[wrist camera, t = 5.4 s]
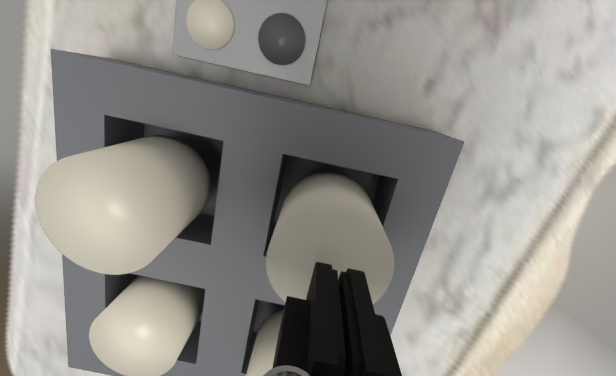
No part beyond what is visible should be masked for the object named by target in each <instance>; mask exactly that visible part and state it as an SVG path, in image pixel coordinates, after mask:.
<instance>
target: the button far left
mask: <svg viewBox="0 0 616 376" xmlns="http://www.w3.org/2000/svg"><path fill="white" fill-rule="evenodd" d="M204 296H205V289H203V288H198V287H194V286H189V285H184V284H179V283H174V282H169V281H164V280H160V279H155V278H150V277H145V276H140V275H138V276H137V277H136V278H135V280H134V281H133V282H132V283H131V284H130V285H129V286H128V287H127V288H126V289H125V290H124V291H123V292H122V293H121V294H120V295H119V296H118V297H117V298H116V299H115V300H114V301H113V302H112V303H111V304H110V305H109V306H108V307H107V308H106V309H105V310H104V311H103V312H102V313H101V314H100V315H99V316H98V317H97V318H96V319H95V320H94V321H93V323H92V325H91V327H90V331H89V341H90V344H91V347H92V349H93V351H94V353H95V354H96V356H97V357H98V358H99V359H100V360H101V361H102V362H103V363H104V364H105V365H106V366H107V367H109V368H110V369H112V370H114V371H115V372H117V373H120V374H122V375H125V376H160V375H163V374H164V373H166V372H168V371H169V370H170V369H171V368H172V367H173V366H174V364H175V362H176V360H177V358H178V357H179V355H180V353H181V351H182V349H183V347H184V346H185V344H186V342H187V340H188V338H189V336H190V334H191V333H192V331H193V329H194V327H195V325H196V323H197V321H198V320H199V318H200V316H201V314H202V312H203V305H204Z"/></svg>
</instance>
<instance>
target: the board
mask: <svg viewBox="0 0 616 376" xmlns="http://www.w3.org/2000/svg"><path fill="white" fill-rule="evenodd" d="M51 63H52V81H53V98H54V116H55V134H56V152H57V161H58V160H61V159H63V158H65V157H69V156H72V155H76V154H80V153H84V152H88V151H92V150H96V149H100V148H104V147H108V146H112V145H116V144H120V143H124V142H128V141H132V140H136V139H140V138H144V137H148V136H153V135H164V136H170V137H173V138H176V139H178V140H181V141H183V142H184V143H186V144H188V145H189V146H190V147H192V148H193V149H194V150H195V151H196V152H197V153H198V154H199V155H200V157H201V158H202V159H203V161H204V162H205V164H206V166H207V168H208V171H209V174H210V179H211V194H210V198H209V201H208V203H207V205H206V207H205V208H204V209H203V211H202V212H201V213H200V214H199V215H198V216H197V217H196V218H195V219H194V220H193V221H192V222H191V223H190V224H189V225H188V226H187V227H186V228H185V229H184V230H183V231H182V232H181V233H180V234H179V235H178V236H177V237H176V238H175V239H174V240H173V241H172V242H171V243H170V244H169V245H168V246H167V247H166V248H165V249H164V250H162V251H161V252H160V253H159V254H158V255H157V256H156V257H155V258H154V259H153V260H152V261H151V262H150V263H149V264H148V265H147V266H145V267H144V268H142V269H140V270H138V271H135V272H132V273H127V274H120V275H110V274H102V273H98V272H94V271H91V270H88V269H86V268H84V267H82V266H80V265H77V264H76V263H74V262H73V261H71V260H70V259H68V258H67V257H66V256H64V255H63V254H62V259H63V277H64V295H65V313H66V331H67V349H68V367H72V368H77V369H82V370H87V371H92V372H97V373H102V374H107V375H112V376H125V375H122V374H120V373H117V372H115V371H114V370H112V369H110V368H109V367H107V366H106V365H105V364H104V363H103V362H102V361H101V360H100V359H99V358H98V357H97V356H96V354H95V353H94V351H93V349H92V347H91V344H90V341H89V331H90V327H91V325H92V323H93V321H94V320H95V319H96V318H97V317H98V316H99V315H100V314H101V313H102V312H103V311H104V310H105V309H106V308H107V307H108V306H109V305H110V304H111V303H112V302H113V301H114V300H115V299H116V298H117V297H118V296H119V295H120V294H121V293H122V292H123V291H124V290H125V289H126V288H127V287H128V286H129V285H130V284H131V283H132V282H133V281H134V280H135V278H136V277H137V276H138V275H140V276H145V277H150V278H155V279H160V280H164V281H169V282H174V283H179V284H184V285H189V286H194V287H198V288H203V289H205V296H204V305H203V312H202V314H201V316H200V318H199V320H198V321H197V323H196V325H195V327H194V329H193V331H192V333H191V334H190V336H189V338H188V340H187V342H186V344H185V346H184V347H183V349H182V351H181V353H180V355H179V357H178V358H177V360H176V362H175V364H174V366H173V367H172V368H171V369H170V370H169V371H168V372H166V373H164V374H163V375H160V376H246V374H247V370H248V366H249V362H250V358H251V355H252V351H253V347H254V343H255V340H256V336H257V332H258V329H259V327H260V325H261V324H262V322H263V321H264V320H265V319H266V318H267V317H269V316H270V315H272V314H274V313H276V312H279V311H282V310H284V306H285V302H284V301H283V300H282V299H281V298H280V297H279V296H278V295H277V293H276V292H275V291H274V289H273V287H272V285H271V283H270V281H269V278H268V275H267V270H266V256H267V251H268V247H269V244H270V241H271V238H272V235H273V232H274V229H275V227H276V224H277V221H278V218H279V215H280V212H281V209H282V206H283V203H284V200H285V198H286V196H287V194H288V192H289V191H290V190H291V188H292V187H293V186H294V185H295V184H296V183H297V182H299V181H300V180H302V179H303V178H305V177H307V176H310V175H312V174H316V173H322V172H333V173H339V174H342V175H345V176H347V177H350V178H351V179H353V180H355V181H356V182H357V183H358V184H360V185H361V186H362V188H363V189H364V190H365V191H366V193H367V194H368V196H369V198H370V200H371V203H372V205H373V207H374V209H375V211H376V214H377V216H378V218H379V220H380V222H381V224H382V227H383V229H384V231H385V233H386V235H387V237H388V240H389V242H390V244H391V247H392V250H393V255H394V272H393V276H392V280H391V282H390V284H389V287H388V288H387V290H386V291H385V293H384V294H383V295H382V297H381V298H380V299H379V300H378V301H377V302H376V303H375V304H373V307H374V311H375V314H377V315H381V316H383V317H384V318H385V320H386V323H387V327H388V330H389V334H390V335H391V332H392V330H393V327H394V325H395V322H396V319H397V317H398V314H399V311H400V309H401V306H402V304H403V301H404V298H405V296H406V293H407V290H408V288H409V285H410V283H411V280H412V277H413V275H414V272H415V270H416V267H417V264H418V262H419V259H420V256H421V254H422V251H423V249H424V246H425V243H426V241H427V238H428V235H429V233H430V230H431V228H432V225H433V222H434V220H435V217H436V215H437V212H438V209H439V207H440V204H441V201H442V199H443V196H444V194H445V191H446V188H447V186H448V183H449V180H450V178H451V175H452V173H453V170H454V167H455V165H456V162H457V159H458V157H459V154H460V152H461V149H462V146H463V144H464V141H461V140H458V139H455V138H452V137H449V136H446V135H444V134H441V133H438V132H435V131H431V130H426V129H422V128H417V127H413V126H408V125H404V124H399V123H395V122H390V121H386V120H382V119H377V118H373V117H368V116H364V115H359V114H355V113H350V112H346V111H341V110H337V109H332V108H328V107H324V106H319V105H315V104H310V103H306V102H301V101H297V100H292V99H288V98H283V97H279V96H275V95H270V94H266V93H261V92H257V91H252V90H248V89H243V88H239V87H234V86H230V85H225V84H221V83H217V82H212V81H208V80H203V79H199V78H194V77H190V76H185V75H181V74H176V73H172V72H168V71H163V70H159V69H154V68H150V67H145V66H141V65H136V64H132V63H127V62H123V61H118V60H114V59H110V58H103V57H97V56H91V55H85V54H79V53H73V52H66V51H60V50H54V49H51Z"/></svg>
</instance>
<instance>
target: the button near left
mask: <svg viewBox="0 0 616 376" xmlns="http://www.w3.org/2000/svg"><path fill="white" fill-rule="evenodd" d="M210 194H211V179H210V174H209V171H208V168H207V166H206V164H205V162H204V161H203V159H202V158H201V157H200V155H199V154H198V153H197V152H196V151H195V150H194V149H193V148H192V147H190V146H189V145H188V144H186V143H184V142H183V141H181V140H178V139H176V138H173V137H170V136H164V135H153V136H148V137H144V138H140V139H136V140H132V141H128V142H124V143H120V144H116V145H112V146H108V147H104V148H100V149H96V150H92V151H88V152H84V153H80V154H76V155H72V156H69V157H65V158H63V159H61V160H58V161H57V162H55V163H54V164H52V165H51V166H50V167H49V168H48V169H47V170H46V171H45V172H44V174H43V175H42V176H41V178H40V180H39V182H38V185H37V189H36V194H35V207H36V213H37V216H38V220H39V222H40V225H41V227H42V229H43V231H44V233H45V234H46V236H47V237H48V239H49V240H50V242H51V243H52V244H53V245H54V246H55V247H56V248H57V249H58V250H59V251H60V252H61V253H62V254H63V255H64V256H66V257H67V258H68V259H70V260H71V261H73V262H74V263H76V264H77V265H80V266H82V267H84V268H86V269H88V270H91V271H94V272H98V273H102V274H110V275H120V274H127V273H132V272H135V271H138V270H140V269H142V268H144V267H145V266H147V265H148V264H149V263H150V262H151V261H152V260H153V259H154V258H155V257H156V256H157V255H158V254H159V253H160V252H161V251H162V250H164V249H165V248H166V247H167V246H168V245H169V244H170V243H171V242H172V241H173V240H174V239H175V238H176V237H177V236H178V235H179V234H180V233H181V232H182V231H183V230H184V229H185V228H186V227H187V226H188V225H189V224H190V223H191V222H192V221H193V220H194V219H195V218H196V217H197V216H198V215H199V214H200V213H201V212H202V211H203V209H204V208H205V207H206V205H207V203H208V201H209V198H210Z"/></svg>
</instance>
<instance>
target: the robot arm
mask: <svg viewBox="0 0 616 376" xmlns="http://www.w3.org/2000/svg"><path fill="white" fill-rule="evenodd" d="M263 376H402V375H401V371H400V368H399V364H398V361H397V358H396V354H395V351H394V347H393V344H392V340H391V337H390V334H389V330H388V327H387V323H386V320H385V318H384V317H383V316H381V315H377V314H375V311H374V307H373V303H372V300H371V296H370V292H369V288H368V284H367V280H366V276H365V273H364V272H363V271H359V270H354V269H350V268H348V269H347V271H346V272H343V271H341V273H340V276H339V279H338V273H337V270H334V269H332V265H331V264H326V263H321V262H316V263H315V266H314V270H313V274H312V278H311V282H310V286H309V290H308V293H307V297H306V300H304V299H300V298H295V297H290V296H287V298H286V302H285V306H284V311H283V315H282V320H281V324H280V329H279V334H278V340H277V345H276V351H275V356H274V362H273V368H272V369H270V370H269V371H268V372H267V373H266V374H264V375H263Z"/></svg>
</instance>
